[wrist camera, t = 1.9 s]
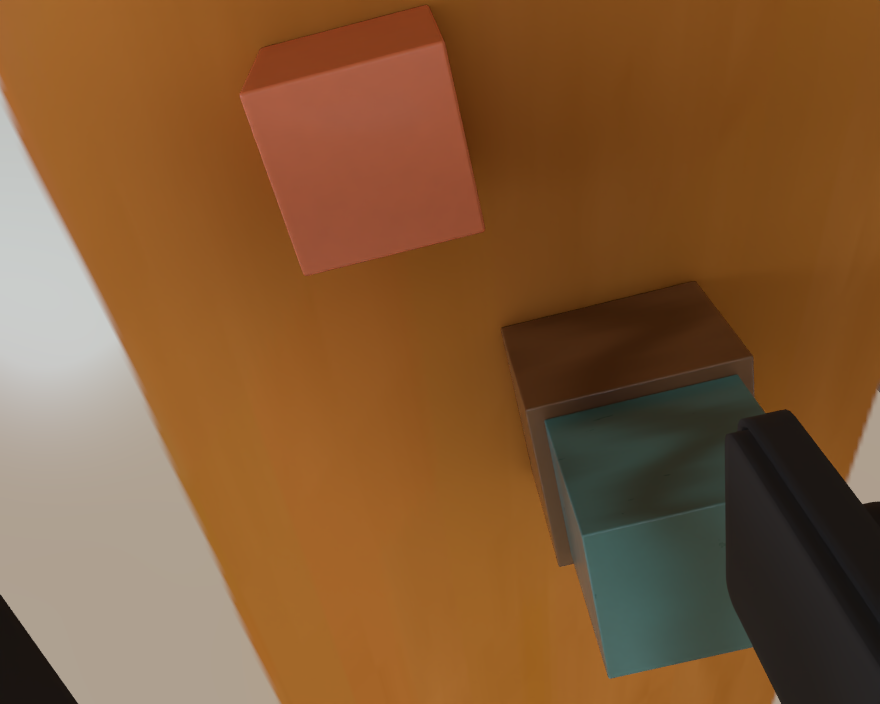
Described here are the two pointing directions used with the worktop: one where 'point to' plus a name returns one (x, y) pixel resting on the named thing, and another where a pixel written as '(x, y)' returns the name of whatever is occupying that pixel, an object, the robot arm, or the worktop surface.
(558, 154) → the worktop surface
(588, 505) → the block stack
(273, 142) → the toy cube
